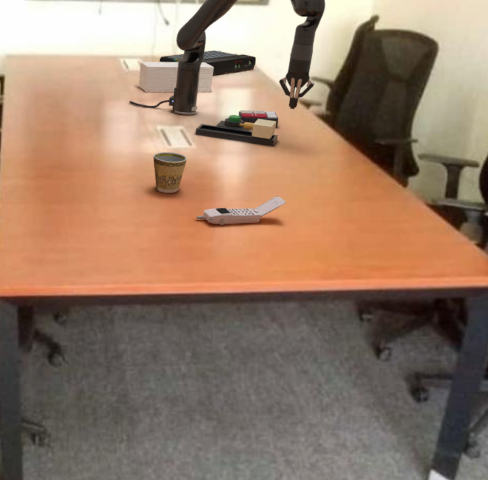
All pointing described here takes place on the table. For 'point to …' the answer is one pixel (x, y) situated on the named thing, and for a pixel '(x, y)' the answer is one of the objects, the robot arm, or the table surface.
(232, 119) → the button
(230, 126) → the button box
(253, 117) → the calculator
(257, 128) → the nozzle carriage
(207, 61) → the computer keyboard
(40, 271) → the table surface
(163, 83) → the stack of papers
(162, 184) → the ceramic cup
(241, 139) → the rail
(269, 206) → the mobile phone
